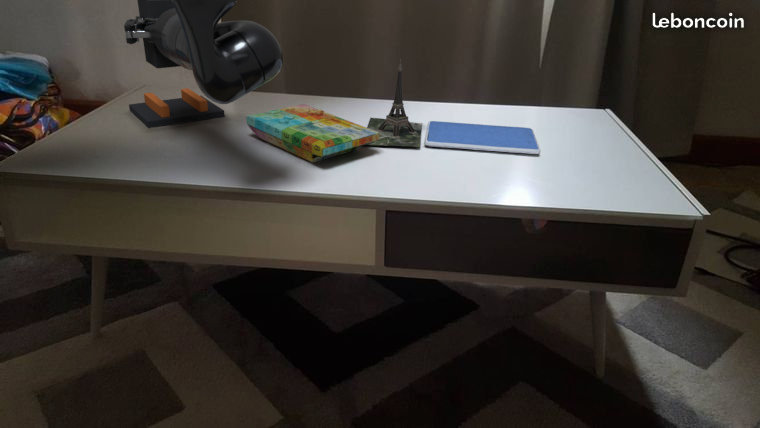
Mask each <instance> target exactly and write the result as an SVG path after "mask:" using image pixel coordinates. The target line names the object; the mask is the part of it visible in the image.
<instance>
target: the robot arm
mask: <svg viewBox="0 0 760 428" xmlns="http://www.w3.org/2000/svg"><path fill="white" fill-rule="evenodd" d="M171 1H172V3H173V5H174V7H175V8H173V9H170V10H167V11H165V12H164V13H163V14H161V15H160V17H159V18H155V17H151V18H143V17H141V16H140V15H138V16H135V18H129V19H127V20H126V21H125V23H124V25H123V27H124V28H123V29H124V35H125V42H126V44H128V45H134V44H136V43H139V42H140V39H143V38H145V39H146V40H147V41H148V42H152V43H155V45H156V47H157V48H158V50H159V51H160V52H161V53H162V54H163V55H164V56H165V57H167V58H168V59H170V60H172V61H173V62H175V63H177V64H178V65H180V66H179V67H181V68H183V69H186V70H189V71H192V74H193V78H194V80H195V83H196V85H197V87H198V89H199V91H201V93H202V94H203V95H204V96H205V98H208V100H209V101H211V102H213V103H216V104H219V105H228V104H231V103H234V102H235V101H237V100H239V99H241V98H242V97H244V96H245V95H247V94H249V93H251V92H253V91H254V90H257V88H259V87H261V86H263V85H265V84H266V83H268V82H270V81H272V80H273V79H274V78H276V77H277V76H278V75H279V74H280V72H281V69H282V68H283V67H282V66H283V62H284V54H283V49H282V46H281V45H280V42H279V41H278V39H277V38H276V36H275V35H274V33H272V31H270V30H269V29H268V28H266V27H265V26H263V25H262V24H260V23H257V22H256V21H252V20H229V21H222V22H220V21H221V20H222V18H223V17H225V16H226V15H227V14H228V13H229V12H230V11H231V10H232V9H233V8H234V7H235V6H236V4H237V3H238V1H239V0H171Z"/></svg>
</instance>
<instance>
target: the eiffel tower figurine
mask: <svg viewBox="0 0 760 428" xmlns="http://www.w3.org/2000/svg"><path fill="white" fill-rule="evenodd" d="M401 61H402V59H401V58H400V61H399V63H400V64H399V65H397V79H396V85H395V86H396V87H395V92H394V99H393V101H392V103H391V104H392V106H391V108H390V110H389V112H388V114H386V116H385V118H380V117H370V118H369V120H368V124H367V126H366V128H368V129H371V130H373V131H376V132H379V133H380V137H379V140H377V141H374V142H370V143H367V144H363V145H365V146H385V147H386V146H387V147H389V146H390V147H415V148H416V147H417V148H418V147H419V148H420V146H421V140H422V127H423V123H421V122H412V121H410V120H409V116H407V114H406V111H405V107H404V104H405V103H404V101H403V83H402V82H403V81H402V80H403V79H402V76H403V74H402V73H403V72H402V71H403V65H402V63H401ZM363 145H362V146H363Z"/></svg>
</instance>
